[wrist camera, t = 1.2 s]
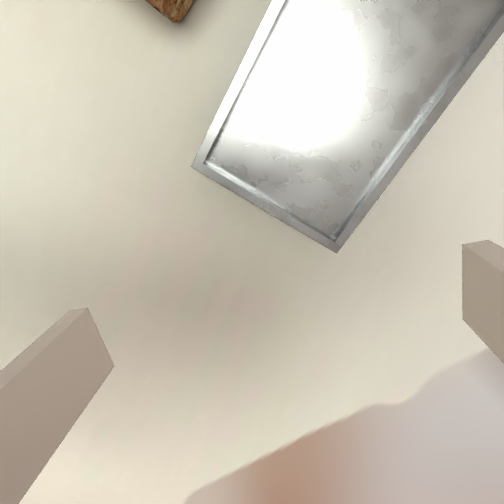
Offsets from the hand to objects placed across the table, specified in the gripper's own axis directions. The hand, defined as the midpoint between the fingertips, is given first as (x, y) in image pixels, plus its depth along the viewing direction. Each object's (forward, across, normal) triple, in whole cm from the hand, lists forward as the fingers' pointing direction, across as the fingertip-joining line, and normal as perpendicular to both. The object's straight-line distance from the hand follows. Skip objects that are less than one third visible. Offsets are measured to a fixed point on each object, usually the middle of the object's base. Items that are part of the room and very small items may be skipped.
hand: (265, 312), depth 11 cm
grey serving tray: (+23, +7, +8) cm, 26 cm away
